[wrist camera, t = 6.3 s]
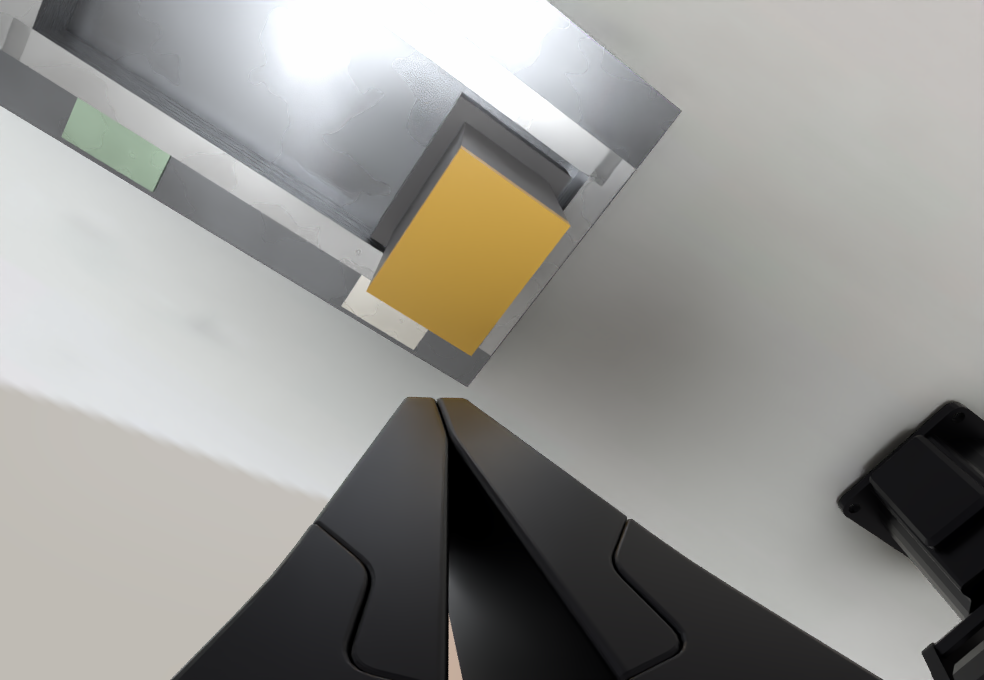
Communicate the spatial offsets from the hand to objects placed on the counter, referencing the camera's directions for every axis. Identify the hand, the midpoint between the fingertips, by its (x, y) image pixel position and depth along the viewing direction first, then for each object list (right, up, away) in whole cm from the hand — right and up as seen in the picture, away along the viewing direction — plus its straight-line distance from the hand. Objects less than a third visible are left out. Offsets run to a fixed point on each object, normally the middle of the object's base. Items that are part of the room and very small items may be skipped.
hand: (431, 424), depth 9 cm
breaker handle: (0, +6, +12) cm, 14 cm away
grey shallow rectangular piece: (-4, +9, +12) cm, 16 cm away
